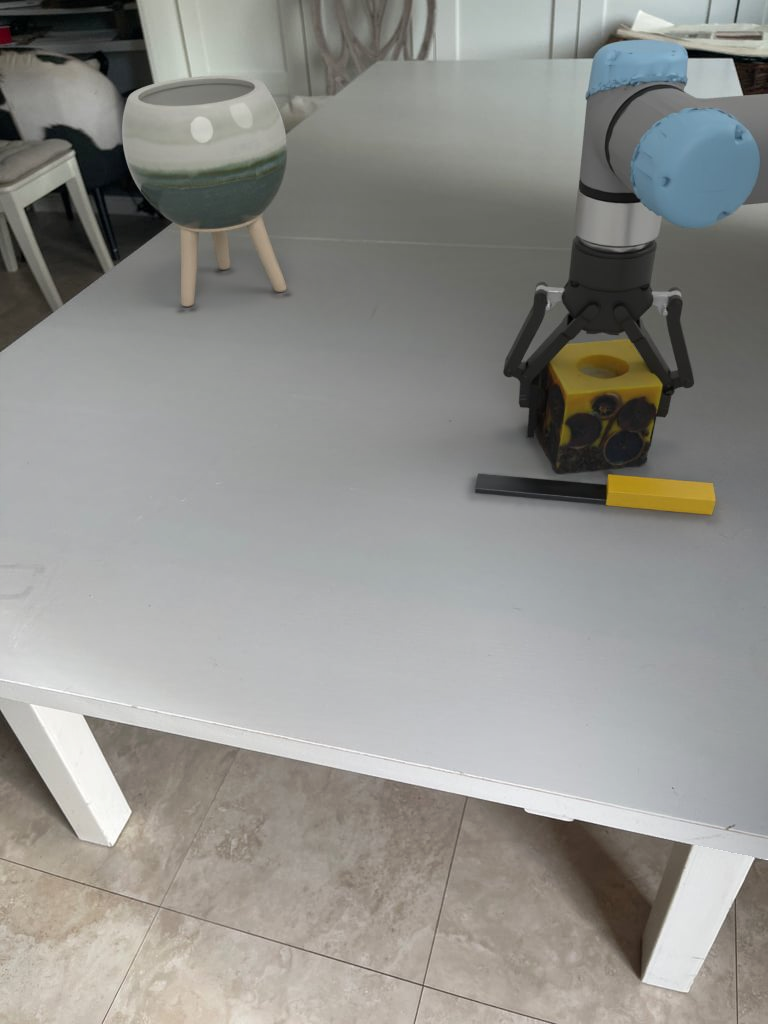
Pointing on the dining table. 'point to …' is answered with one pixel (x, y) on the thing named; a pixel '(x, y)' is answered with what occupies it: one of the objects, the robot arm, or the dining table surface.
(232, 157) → the planter
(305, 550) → the dining table surface
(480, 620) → the dining table surface
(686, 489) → the knife
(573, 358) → the candle
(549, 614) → the dining table surface
